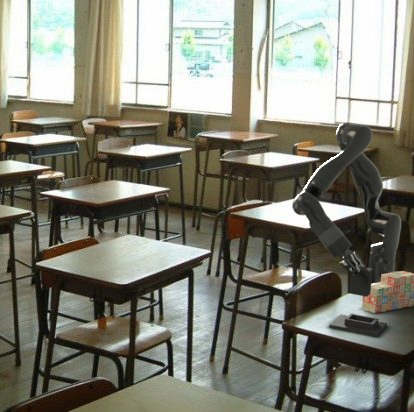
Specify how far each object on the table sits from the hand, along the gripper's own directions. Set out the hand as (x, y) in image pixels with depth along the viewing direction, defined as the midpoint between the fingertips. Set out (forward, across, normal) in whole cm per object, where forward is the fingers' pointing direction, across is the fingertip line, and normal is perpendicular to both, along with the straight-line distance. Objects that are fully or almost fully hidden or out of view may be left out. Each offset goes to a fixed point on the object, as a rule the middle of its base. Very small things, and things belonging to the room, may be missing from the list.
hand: (367, 280), depth 296 cm
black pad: (+2, 0, +5) cm, 5 cm away
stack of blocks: (+13, +29, +11) cm, 34 cm away
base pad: (+11, -1, +13) cm, 17 cm away
